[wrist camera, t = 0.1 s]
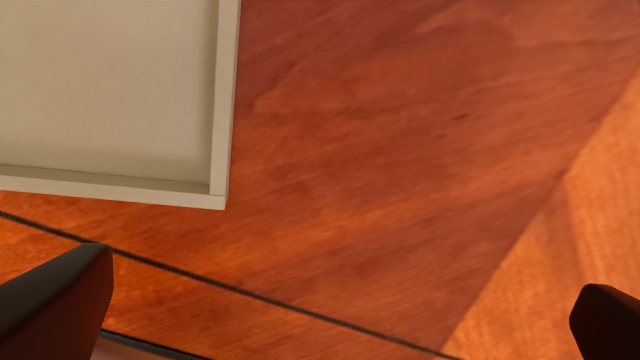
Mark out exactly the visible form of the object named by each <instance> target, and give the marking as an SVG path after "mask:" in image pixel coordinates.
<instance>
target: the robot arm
mask: <svg viewBox="0 0 640 360" xmlns="http://www.w3.org/2000/svg"><path fill="white" fill-rule="evenodd" d="M113 288H114V277H113V255H112V249H111V247H110V246H109V245H107V244H96V243H84V244H82V245H80V246H78V247H76V248H74V249H72V250H70V251H68V252H66V253H64V254H62V255H60V256H58V257H56V258H54V259H52V260H50V261H48V262H46V263H44V264H42V265H40V266H38V267H36V268H34V269H32V270H30V271H28V272H26V273H24V274H22V275H20V276H18V277H16V278H14V279H12V280H10V281H8V282H6V283H4V284H2V285H0V360H90V358H91V354H92V352H93V349H94V346H95V343H96V340H97V338H98V335H99V332H100V329H101V326H102V323H103V320H104V318H105V315H106V312H107V309H108V306H109V303H110V300H111V297H112V294H113ZM569 325H570V329H571V332H572V334H573V336H574V338H575V341H576V343H577V345H578V348H579V350H580V352H581V355H582V357H583V359H584V360H640V300H638V299H636V298H634V297H632V296H630V295H628V294H626V293H624V292H622V291H620V290H618V289H616V288H614V287H612V286H609V285H605V284H592V283H590V284H587V285H585V286H584V287H583V288H582V290H581V292H580V294H579V296H578V298H577V301H576V303H575V305H574V307H573V309H572V311H571V314H570V317H569Z"/></svg>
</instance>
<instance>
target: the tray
mask: <svg viewBox="0 0 640 360" xmlns="http://www.w3.org/2000/svg"><path fill="white" fill-rule="evenodd" d="M240 15H241V0H0V190H8V191H19V192H30V193H41V194H52V195H63V196H74V197H85V198H95V199H106V200H117V201H128V202H139V203H150V204H161V205H172V206H183V207H194V208H205V209H216V210H224V209H225V205H226V201H227V197H228V189H229V174H230V160H231V145H232V131H233V116H234V102H235V87H236V73H237V58H238V44H239V29H240Z"/></svg>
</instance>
